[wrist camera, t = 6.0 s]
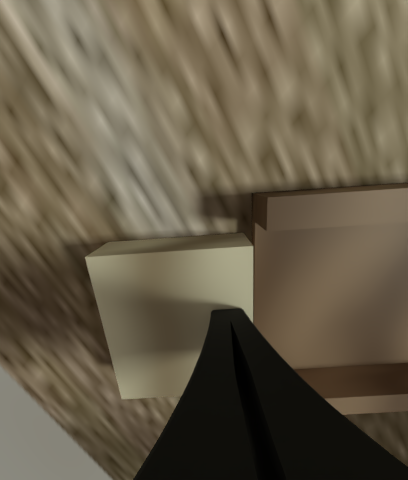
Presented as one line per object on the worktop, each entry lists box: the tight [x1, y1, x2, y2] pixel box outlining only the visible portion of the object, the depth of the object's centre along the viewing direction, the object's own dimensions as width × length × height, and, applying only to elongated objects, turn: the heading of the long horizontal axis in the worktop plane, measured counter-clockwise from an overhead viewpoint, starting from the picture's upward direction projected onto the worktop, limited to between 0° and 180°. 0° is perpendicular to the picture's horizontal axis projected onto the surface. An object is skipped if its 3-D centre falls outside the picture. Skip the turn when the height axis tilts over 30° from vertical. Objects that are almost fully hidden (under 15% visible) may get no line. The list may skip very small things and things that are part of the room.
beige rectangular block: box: [85, 233, 253, 399], centre depth 10 cm, size 6×8×2 cm
